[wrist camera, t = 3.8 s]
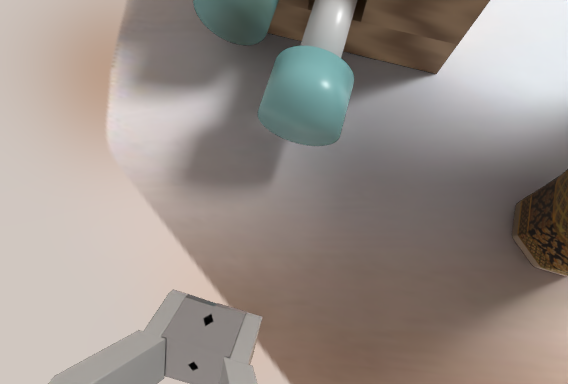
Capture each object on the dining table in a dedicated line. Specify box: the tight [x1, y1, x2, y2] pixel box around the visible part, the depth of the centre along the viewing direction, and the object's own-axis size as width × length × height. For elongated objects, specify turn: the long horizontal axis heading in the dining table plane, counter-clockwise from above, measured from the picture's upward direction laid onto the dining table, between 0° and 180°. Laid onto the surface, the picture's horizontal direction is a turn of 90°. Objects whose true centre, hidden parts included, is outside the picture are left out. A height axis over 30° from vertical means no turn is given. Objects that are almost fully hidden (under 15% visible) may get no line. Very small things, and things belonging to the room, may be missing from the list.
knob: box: [258, 0, 357, 146], centre depth 24 cm, size 6×14×6 cm, turn 164°
